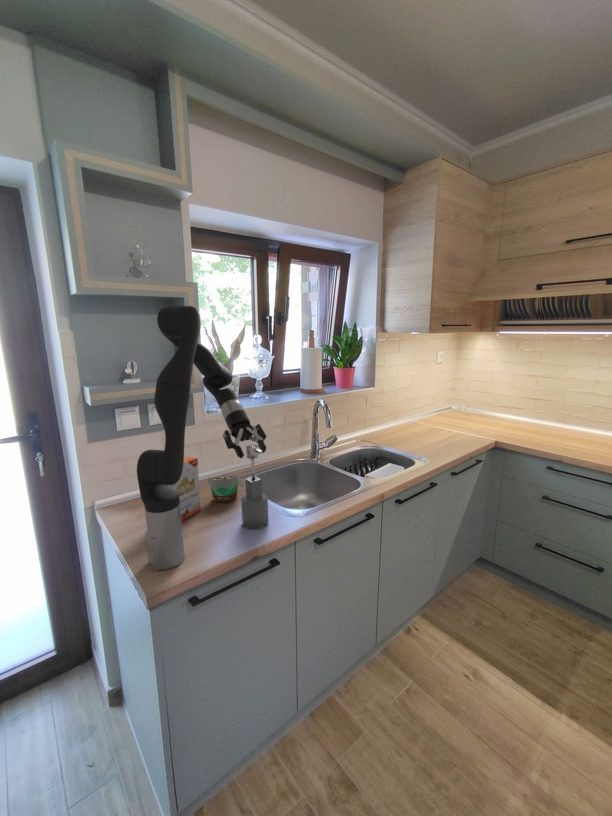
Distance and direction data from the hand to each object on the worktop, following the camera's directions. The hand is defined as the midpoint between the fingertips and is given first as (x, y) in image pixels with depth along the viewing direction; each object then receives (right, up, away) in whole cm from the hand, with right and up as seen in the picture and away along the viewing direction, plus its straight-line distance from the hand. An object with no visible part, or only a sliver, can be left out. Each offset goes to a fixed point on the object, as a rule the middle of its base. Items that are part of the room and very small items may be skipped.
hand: (253, 454), depth 121 cm
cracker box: (-27, -24, +10) cm, 38 cm away
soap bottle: (0, -24, +5) cm, 25 cm away
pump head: (+1, -10, +1) cm, 10 cm away
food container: (-14, -22, +22) cm, 34 cm away
